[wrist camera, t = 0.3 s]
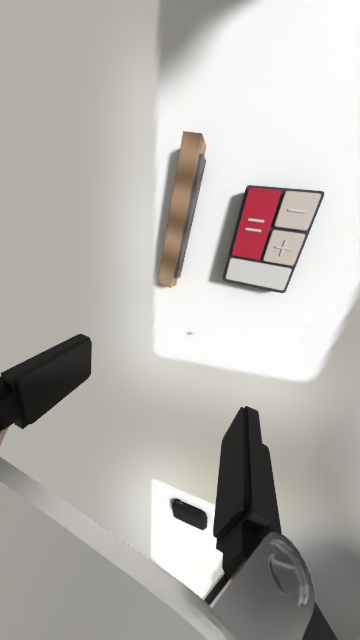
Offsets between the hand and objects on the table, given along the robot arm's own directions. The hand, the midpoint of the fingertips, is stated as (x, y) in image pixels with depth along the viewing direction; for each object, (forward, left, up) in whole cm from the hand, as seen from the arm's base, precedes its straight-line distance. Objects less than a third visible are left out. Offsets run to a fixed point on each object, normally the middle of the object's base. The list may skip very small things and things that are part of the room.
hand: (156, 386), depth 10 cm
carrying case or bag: (+91, +17, -31) cm, 97 cm away
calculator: (-10, +5, -31) cm, 33 cm away
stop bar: (-10, -11, -30) cm, 33 cm away
